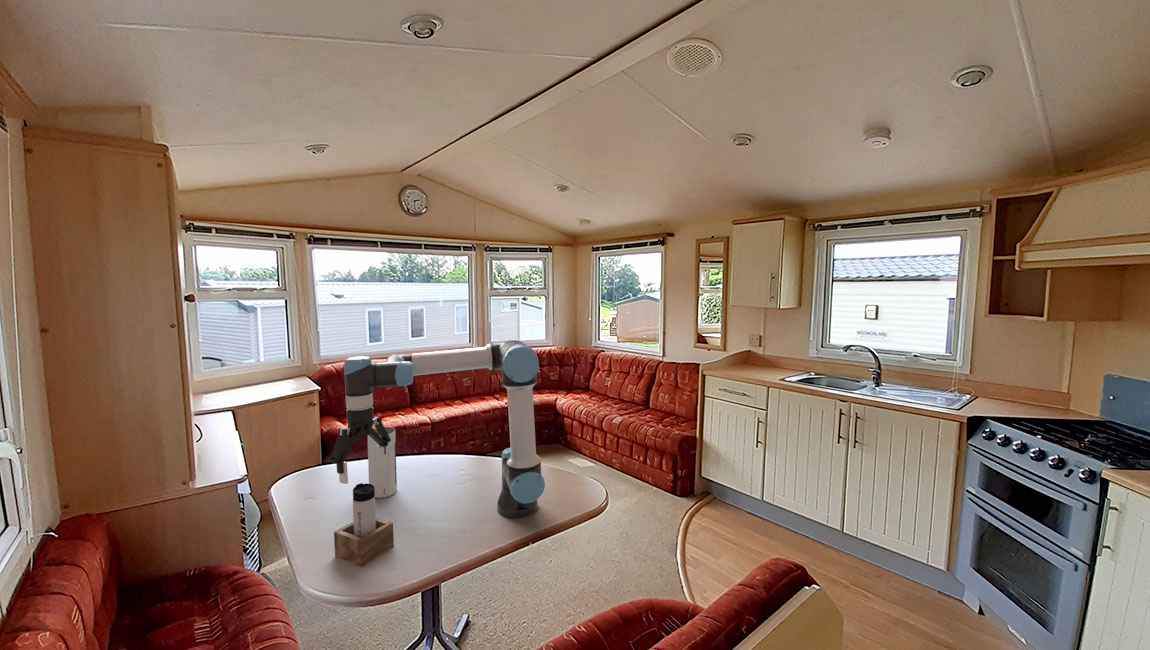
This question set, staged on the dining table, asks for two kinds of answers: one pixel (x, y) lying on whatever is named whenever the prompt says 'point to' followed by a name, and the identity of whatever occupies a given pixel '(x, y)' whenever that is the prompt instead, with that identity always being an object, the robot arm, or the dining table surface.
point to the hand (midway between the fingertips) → (363, 474)
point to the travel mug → (364, 509)
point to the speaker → (385, 475)
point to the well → (363, 543)
